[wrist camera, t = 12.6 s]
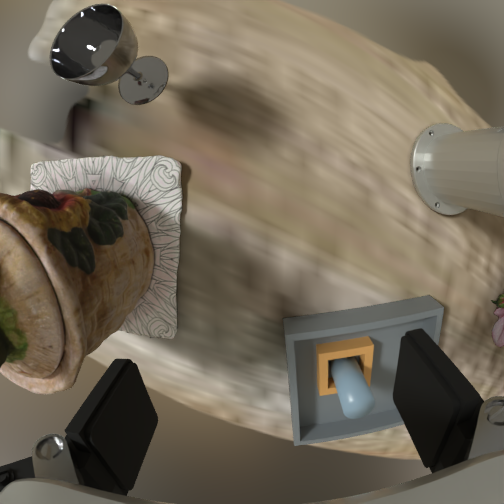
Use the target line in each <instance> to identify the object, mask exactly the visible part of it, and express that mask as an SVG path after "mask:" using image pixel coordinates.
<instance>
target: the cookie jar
mask: <svg viewBox="0 0 504 504" xmlns="http://www.w3.org/2000/svg"><path fill="white" fill-rule="evenodd" d="M182 198H183V196H182V188H181V164H180V162H179V161H176V160H175V159H173V158H169V157H164V156H159V155H158V156H148V157H135V158H119V157H114V156H102V157H94V158H79V159H64V160H56V161H42V162H38V163H34V164H32V166H31V189H30V191H27V192H24V193H23V194H19V195H16V196H11V195H8V194H3V193H0V372H1V373H2V374H3V375H4V376H5V377H6V378H8V379H9V380H10V381H12V382H13V383H15V384H17V385H18V386H20V387H23V388H24V389H27V390H29V391H31V392H33V393H37V394H53V393H56V392H59V391H64V390H67V389H69V388H72V386H73V385H74V383H75V382H76V378H77V376H78V373H79V371H80V368H81V365H82V363H83V360H84V358H85V356H86V355H88V354H90V353H92V352H93V351H94V350H96V349H97V348H98V347H99V346H100V345H101V344H102V342H103V341H104V340H105V339H107V338H108V337H109V335H111V334H113V333H115V332H116V331H118V330H120V331H126V332H127V333H134V334H137V335H147V336H149V337H150V338H153V337H157V338H161V337H162V338H164V339H165V338H169V339H173V338H174V337H175V335H176V331H177V303H176V289H177V269H178V264H179V255H180V249H179V238H180V234H181V231H180V214H181V211H182Z"/></svg>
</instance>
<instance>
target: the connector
mask: <svg viewBox="0 0 504 504" xmlns="http://www.w3.org/2000/svg"><path fill="white" fill-rule="evenodd" d="M329 367H330V371H331V374H332V377H333V380H334V383H335V386H336V390H337V393H338V396H339V399H340V403H341V406H342V409H343V413H344V415H345V416H346V417H348V418H351V419H357V418H361V417H364V416H366V415H367V414H369V413H370V412H371V411H372V410H373V408H374V406H375V400H374V397H373V395H372V393H371V391H370V388H369V386H368V384H367V382H366V379H365V377H364V375H363V373H362V371H361V368H360V366H359V364H358V362H357V360H356V358H355V356H351V357H345V358H339V359H333V360H330V361H329Z"/></svg>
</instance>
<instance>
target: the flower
mask: <svg viewBox="0 0 504 504" xmlns="http://www.w3.org/2000/svg"><path fill="white" fill-rule="evenodd" d="M491 301H492V302H493V303H495V304H497V306H498V307H497V309H496V310H495V311H494V314H495V315H497V316H498V317H499V320H498V321H497V322H496V323H495V324H494V327H493V329H492V338H493V341H494V343H495V345H497V346H499V347H502V346H504V294H501V295H500V296H499V297H498V299H497V301H493V300H491Z"/></svg>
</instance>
